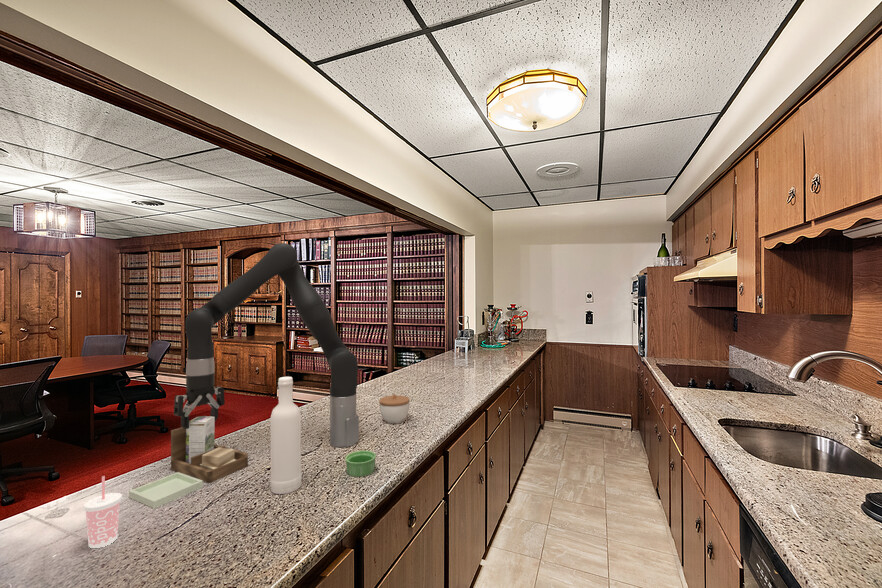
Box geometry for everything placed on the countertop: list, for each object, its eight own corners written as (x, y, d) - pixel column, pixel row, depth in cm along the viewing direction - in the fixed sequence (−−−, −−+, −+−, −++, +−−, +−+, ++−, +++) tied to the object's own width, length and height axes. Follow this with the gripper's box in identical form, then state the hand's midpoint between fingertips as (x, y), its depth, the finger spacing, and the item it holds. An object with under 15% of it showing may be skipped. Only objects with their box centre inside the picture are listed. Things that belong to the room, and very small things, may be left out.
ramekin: (339, 475, 111) (339, 460, 111) (356, 462, 120) (356, 448, 120) (365, 480, 108) (365, 464, 108) (381, 466, 116) (381, 452, 117)
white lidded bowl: (375, 418, 163) (375, 393, 163) (403, 414, 168) (403, 389, 168) (384, 427, 151) (384, 400, 152) (414, 423, 157) (413, 396, 157)
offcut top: (234, 459, 117) (234, 449, 117) (218, 467, 111) (218, 457, 111) (218, 457, 118) (218, 447, 118) (202, 465, 113) (201, 455, 113)
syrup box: (195, 461, 121) (195, 416, 121) (215, 460, 122) (214, 415, 122) (185, 469, 116) (185, 422, 116) (205, 468, 116) (205, 421, 116)
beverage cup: (77, 555, 77) (77, 485, 77) (91, 537, 83) (91, 473, 83) (115, 546, 80) (115, 479, 80) (126, 530, 85) (126, 468, 85)
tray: (203, 486, 105) (203, 480, 105) (153, 508, 94) (153, 501, 94) (178, 477, 110) (178, 472, 110) (129, 497, 100) (129, 490, 100)
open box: (247, 466, 118) (247, 427, 118) (209, 483, 107) (208, 440, 107) (210, 455, 126) (210, 419, 126) (171, 470, 116) (170, 430, 116)
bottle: (270, 483, 106) (270, 376, 107) (300, 478, 109) (299, 373, 110) (270, 497, 99) (269, 381, 99) (302, 491, 102) (301, 379, 102)
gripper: (183, 377, 111) (183, 433, 111) (229, 369, 124) (229, 419, 124) (169, 375, 114) (168, 429, 114) (215, 367, 127) (215, 416, 127)
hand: (200, 424), depth 119 cm, fingers open, 8 cm apart
